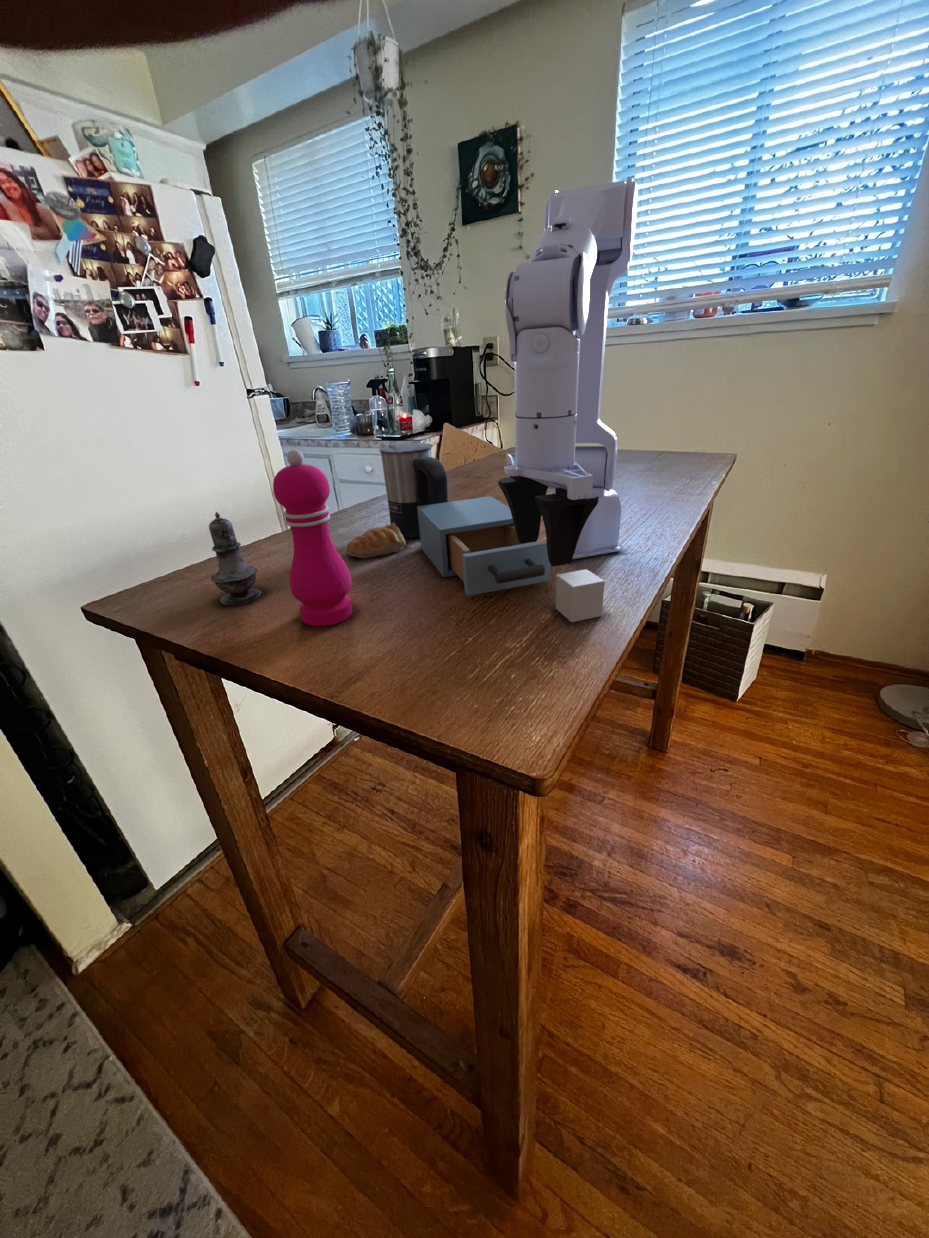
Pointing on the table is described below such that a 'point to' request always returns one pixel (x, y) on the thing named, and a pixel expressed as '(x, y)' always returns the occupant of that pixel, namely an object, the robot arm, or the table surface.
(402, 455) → the milk frother
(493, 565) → the drawer
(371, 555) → the pastry
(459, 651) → the table surface
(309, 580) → the pepper mill
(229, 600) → the salt shaker
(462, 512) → the cabinet
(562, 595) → the block
